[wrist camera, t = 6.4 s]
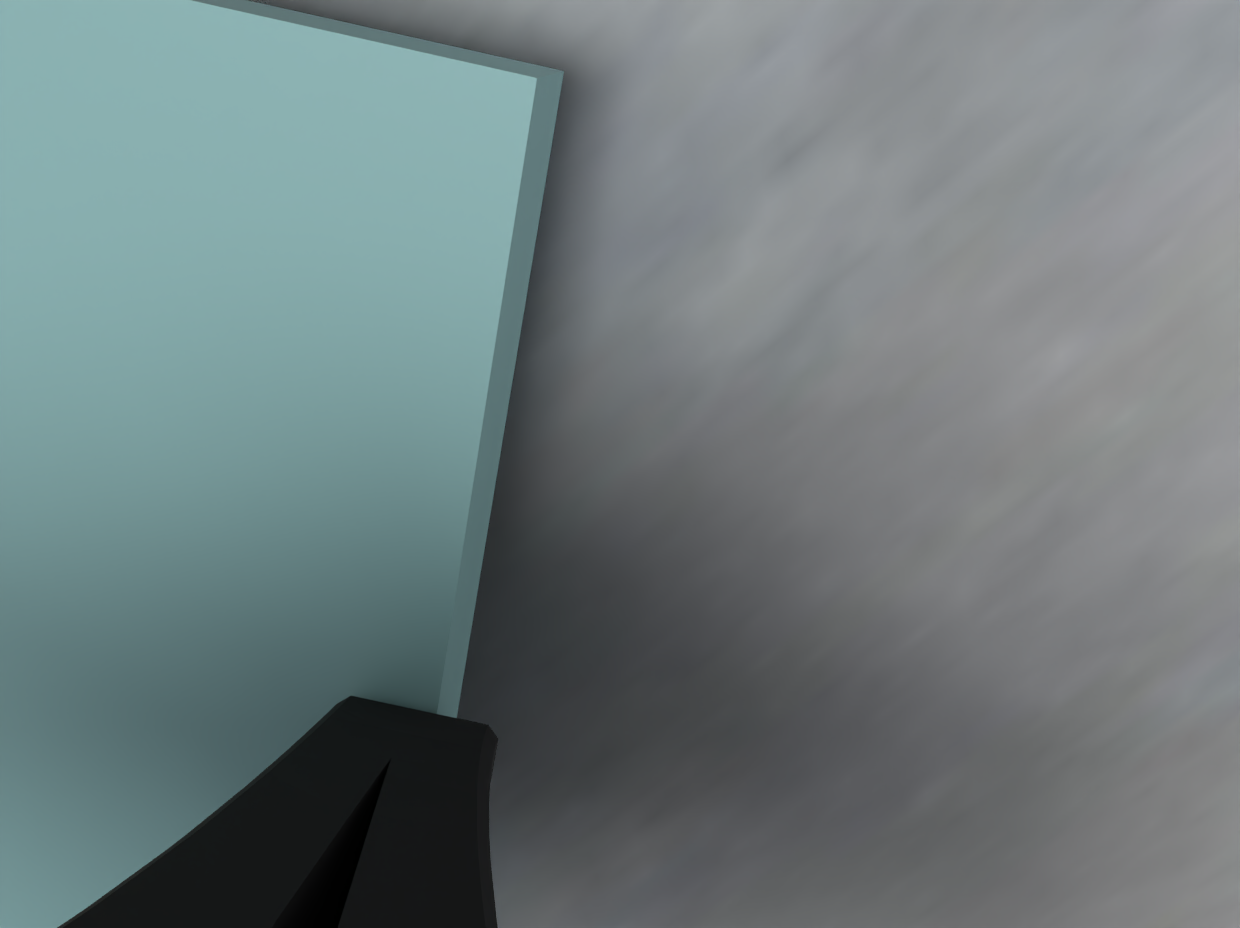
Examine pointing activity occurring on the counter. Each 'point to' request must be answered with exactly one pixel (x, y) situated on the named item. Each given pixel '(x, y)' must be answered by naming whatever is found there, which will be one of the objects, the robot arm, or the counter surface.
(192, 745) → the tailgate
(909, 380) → the counter surface
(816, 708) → the counter surface
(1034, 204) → the counter surface
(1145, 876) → the counter surface
